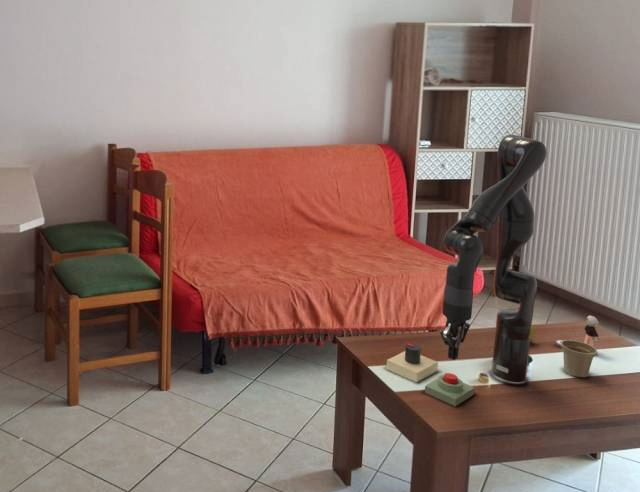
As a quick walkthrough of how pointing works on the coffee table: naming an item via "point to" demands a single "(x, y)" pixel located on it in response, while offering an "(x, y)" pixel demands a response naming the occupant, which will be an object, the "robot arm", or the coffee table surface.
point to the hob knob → (412, 353)
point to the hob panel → (412, 367)
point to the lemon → (532, 332)
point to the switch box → (449, 391)
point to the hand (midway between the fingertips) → (452, 358)
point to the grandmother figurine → (591, 331)
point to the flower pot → (577, 357)
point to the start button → (450, 378)
